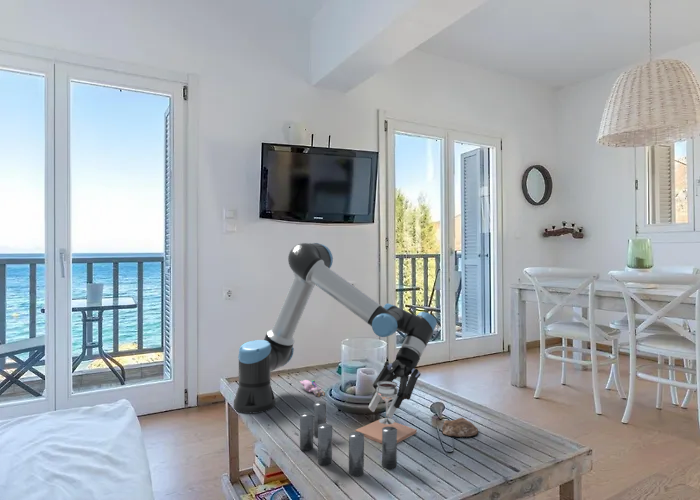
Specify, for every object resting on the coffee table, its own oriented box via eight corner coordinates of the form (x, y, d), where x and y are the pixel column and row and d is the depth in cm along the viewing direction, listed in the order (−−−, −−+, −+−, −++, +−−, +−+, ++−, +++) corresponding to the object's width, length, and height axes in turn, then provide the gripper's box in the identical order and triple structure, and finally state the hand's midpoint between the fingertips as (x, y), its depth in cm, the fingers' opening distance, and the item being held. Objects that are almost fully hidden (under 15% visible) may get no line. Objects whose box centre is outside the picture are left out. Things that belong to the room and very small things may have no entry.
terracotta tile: (355, 433, 142) (355, 429, 142) (382, 420, 152) (382, 417, 152) (389, 447, 132) (389, 443, 132) (416, 432, 142) (416, 429, 142)
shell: (479, 427, 149) (479, 416, 149) (477, 442, 137) (477, 431, 137) (444, 422, 152) (444, 411, 152) (439, 437, 140) (440, 426, 140)
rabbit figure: (327, 398, 178) (306, 383, 189) (329, 384, 177) (308, 370, 188) (315, 402, 174) (294, 386, 185) (316, 387, 173) (295, 373, 184)
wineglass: (384, 427, 137) (384, 388, 137) (372, 419, 143) (372, 382, 143) (401, 422, 141) (402, 385, 141) (388, 415, 147) (389, 379, 147)
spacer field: (283, 446, 132) (283, 412, 132) (320, 431, 143) (320, 400, 143) (363, 487, 110) (363, 447, 110) (399, 465, 121) (399, 429, 121)
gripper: (439, 364, 146) (410, 427, 135) (392, 354, 160) (362, 410, 148) (430, 351, 142) (399, 415, 131) (383, 341, 156) (351, 399, 144)
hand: (379, 412), depth 139 cm, fingers closed on wineglass, 7 cm apart
